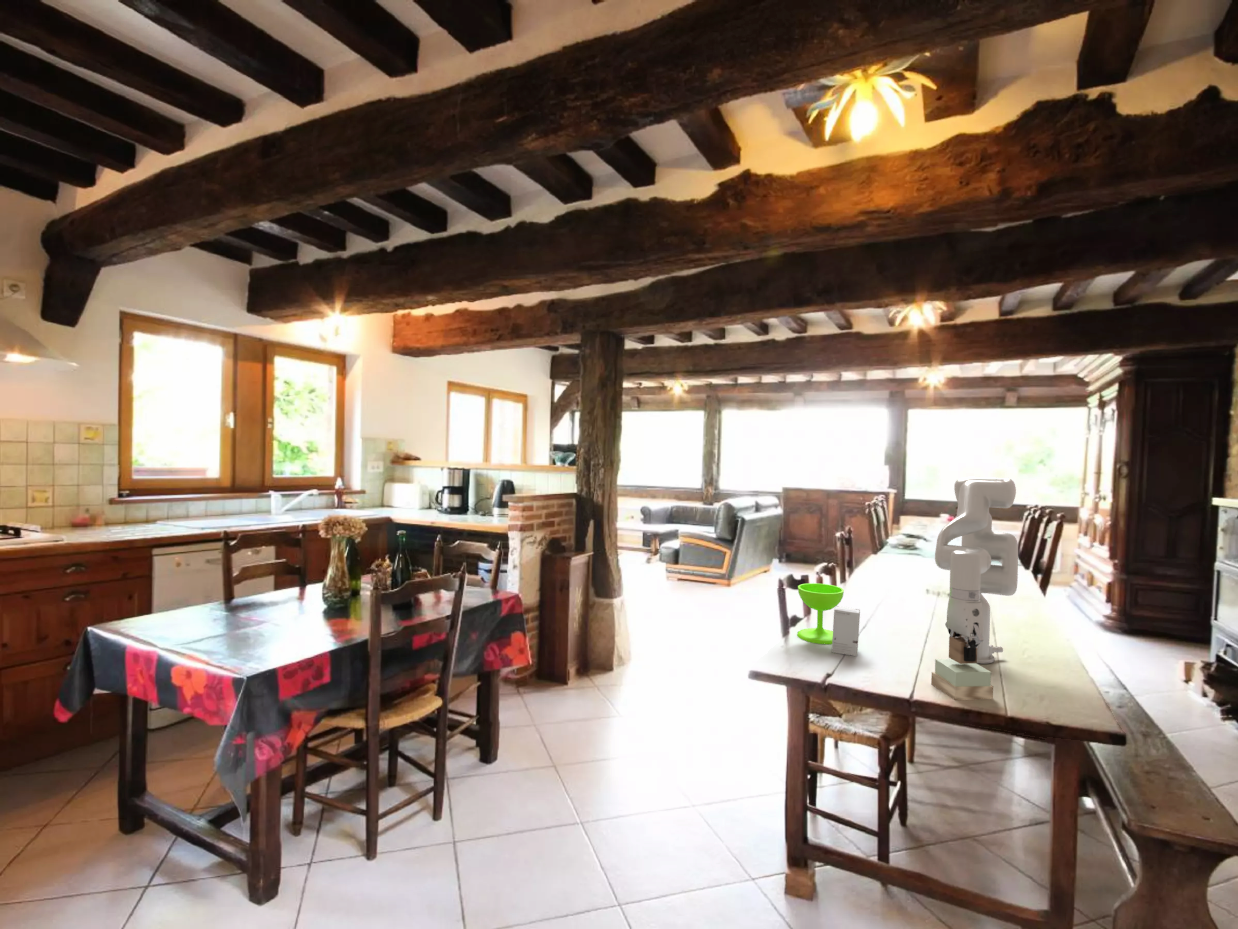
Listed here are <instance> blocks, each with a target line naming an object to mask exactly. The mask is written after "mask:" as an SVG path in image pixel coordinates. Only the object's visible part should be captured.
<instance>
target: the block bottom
mask: <svg viewBox="0 0 1238 929" xmlns="http://www.w3.org/2000/svg"><path fill="white" fill-rule="evenodd" d="M930 680H931V683H930V684H931V685H932V686H933V687H935V688H936V689H938V690H939V691H941V692H942V693H943V694H945V695H947V696H949V697H950V698H951V699H952V700H955V701H969V700H970V701H975V700H993V699H994V686H993V685H992V684H991V686H962V687H955V686H954V685H952V684H951V683H950V682H948V681H947V680H945V679H944V678H942V677H941V676H939V675H938V674H936V673H935V671H931V679H930Z"/></svg>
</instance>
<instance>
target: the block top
mask: <svg viewBox="0 0 1238 929" xmlns="http://www.w3.org/2000/svg"><path fill="white" fill-rule="evenodd" d="M934 662H935V663H934V664H935V665H934V672H935V673H936V674H938V675H939V676H941V677H942V678H944V679H945V680H947V681H948V682H950V683H951V684H952V685H954V686H955V687H962V686H991V685H992V683H991V682H992V671H990V670H988V669H986V668H985V667H983V666H981V665H980V664H979V663H968V664H960V663H958V662H956V661H954V660H952V659H951V658H935V660H934Z"/></svg>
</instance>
